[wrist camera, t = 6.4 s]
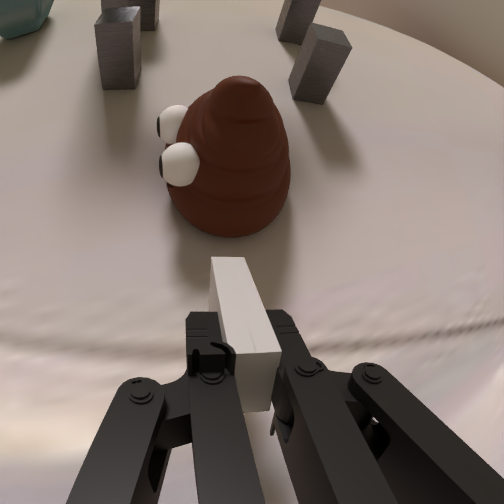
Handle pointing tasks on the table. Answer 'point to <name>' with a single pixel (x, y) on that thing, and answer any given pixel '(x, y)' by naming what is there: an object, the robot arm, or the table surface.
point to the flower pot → (22, 16)
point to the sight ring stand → (113, 4)
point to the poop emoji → (226, 158)
